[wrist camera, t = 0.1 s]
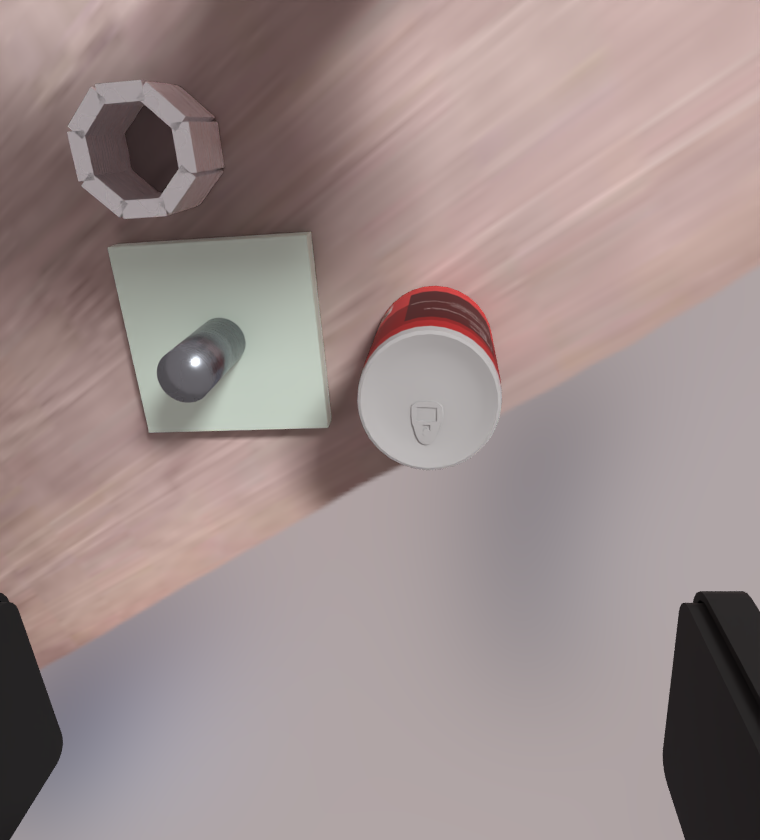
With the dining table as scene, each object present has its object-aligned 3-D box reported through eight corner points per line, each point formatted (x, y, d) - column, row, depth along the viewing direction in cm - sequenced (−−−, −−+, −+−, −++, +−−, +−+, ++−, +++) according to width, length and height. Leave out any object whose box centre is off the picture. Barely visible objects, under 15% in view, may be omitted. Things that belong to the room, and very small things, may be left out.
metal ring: (100, 91, 41) (56, 87, 37) (211, 81, 41) (180, 76, 36) (125, 211, 44) (87, 221, 40) (230, 204, 43) (203, 213, 39)
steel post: (194, 318, 45) (151, 350, 39) (241, 316, 45) (206, 348, 38) (203, 364, 46) (162, 403, 40) (248, 363, 46) (215, 401, 39)
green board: (117, 243, 45) (107, 247, 44) (311, 231, 43) (306, 235, 42) (157, 424, 50) (149, 432, 49) (331, 419, 48) (328, 427, 47)
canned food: (394, 408, 48) (378, 484, 38) (362, 299, 45) (336, 349, 35) (503, 384, 46) (517, 456, 36) (477, 269, 43) (484, 312, 33)
